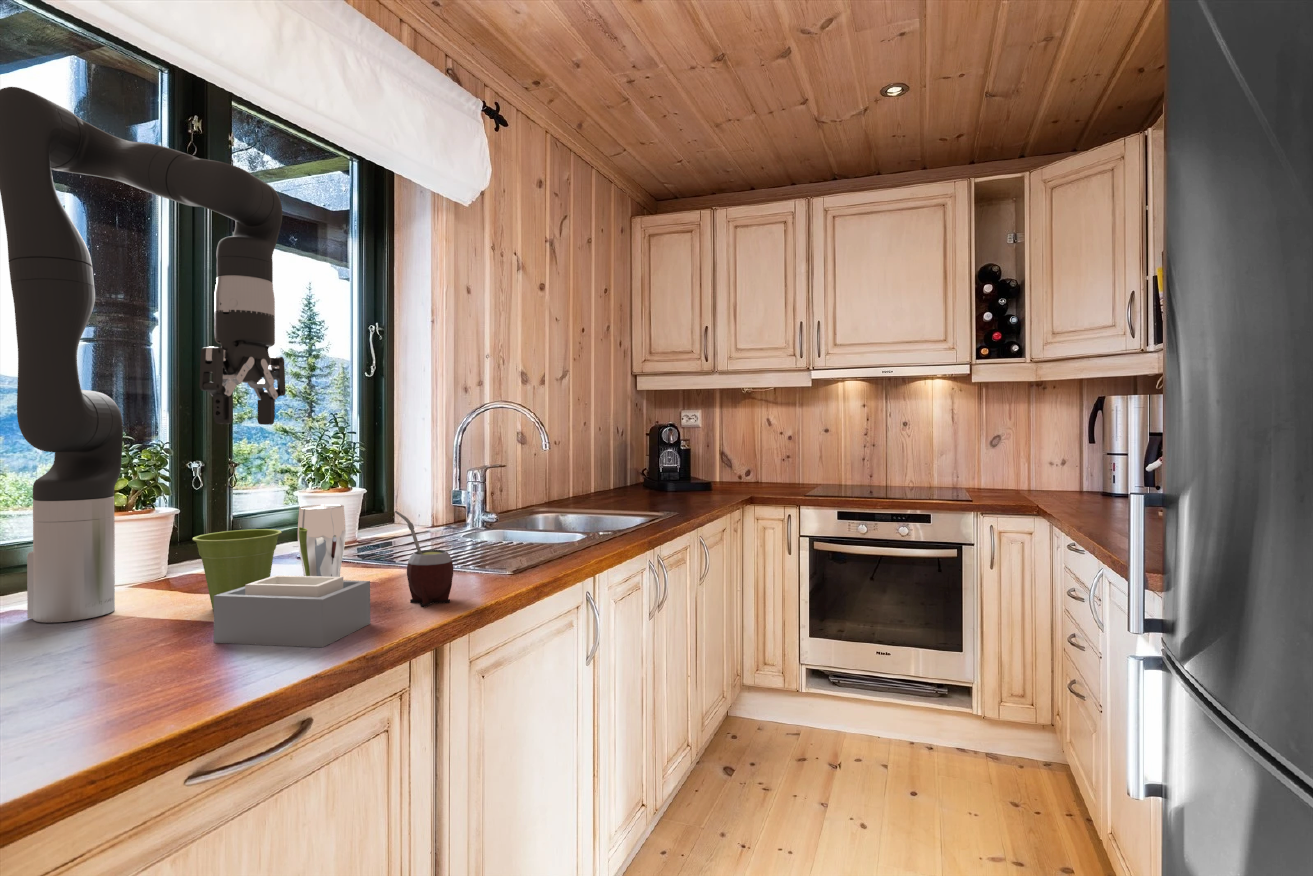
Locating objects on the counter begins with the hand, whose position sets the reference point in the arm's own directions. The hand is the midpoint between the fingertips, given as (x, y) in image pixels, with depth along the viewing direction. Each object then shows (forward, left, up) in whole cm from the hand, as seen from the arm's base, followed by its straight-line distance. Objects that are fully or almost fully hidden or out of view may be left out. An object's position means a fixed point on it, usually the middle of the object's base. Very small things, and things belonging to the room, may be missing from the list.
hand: (245, 424), depth 101 cm
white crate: (+12, -6, -27) cm, 30 cm away
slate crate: (+12, -6, -28) cm, 31 cm away
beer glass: (+4, +12, -28) cm, 31 cm away
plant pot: (-6, +6, -28) cm, 30 cm away
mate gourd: (+22, +12, -28) cm, 38 cm away
